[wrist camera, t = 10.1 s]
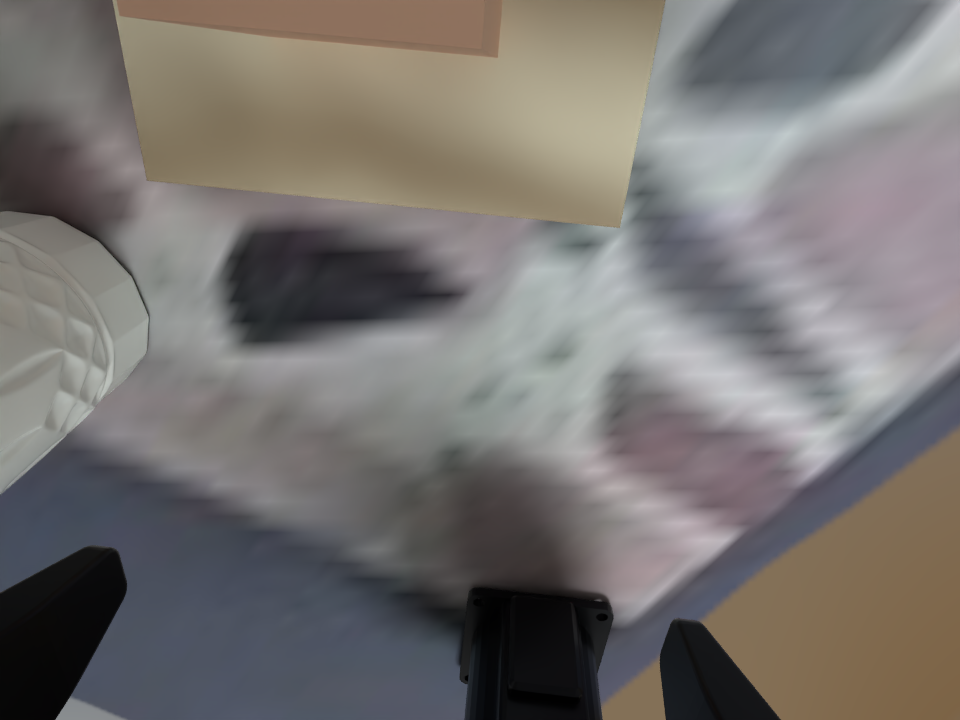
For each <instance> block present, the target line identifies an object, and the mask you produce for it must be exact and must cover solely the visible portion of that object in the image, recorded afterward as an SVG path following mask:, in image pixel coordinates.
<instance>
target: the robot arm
mask: <svg viewBox="0 0 960 720" xmlns="http://www.w3.org/2000/svg"><path fill="white" fill-rule="evenodd" d="M126 590H127V580H126V576H125V573H124V569H123V566H122V562H121V558H120V555H119V552H118V551H117V550H116V549H115V548H112V547H105V546H97V545H91V546H87V547H84V548H82V549H80V550H78V551H77V552H75V553H73V554H71V555H69V556H67V557H65V558H64V559H62V560H60V561H58V562H56V563H54V564H52V565H51V566H49V567H47V568H45V569H43V570H41V571H40V572H38V573H36V574H34V575H32V576H30V577H28V578H27V579H25V580H23V581H21V582H19V583H17V584H15V585H14V586H12V587H10V588H8V589H6V590H4V591H2V592H1V593H0V720H55V719H56V718H57V716H58V714H59V713H60V711H61V710H62V709H63V707H64V705H65V704H66V702H67V701H68V699H69V698H70V696H71V694H72V693H73V691H74V689H75V688H76V686H77V684H78V682H79V681H80V679H81V677H82V675H83V673H84V672H85V670H86V668H87V666H88V664H89V662H90V660H91V659H92V657H93V655H94V653H95V651H96V649H97V648H98V646H99V644H100V642H101V640H102V638H103V636H104V635H105V633H106V631H107V629H108V627H109V625H110V623H111V622H112V620H113V618H114V616H115V614H116V612H117V611H118V609H119V607H120V605H121V603H122V601H123V599H124V597H125V594H126ZM612 622H613V611H612V607H611V605H609V604H608V603H605V602H599V601H590V600H582V599H573V598H565V597H556V596H548V595H539V594H531V593H522V592H514V591H505V590H497V589H488V588H473V589H471V590H470V591H469V593H468V601H467V611H466V620H465V630H464V639H463V649H462V658H461V668H460V680H461V682H463V683H465V684H468V688H467V698H466V709H465V719H464V720H603V719H602V710H601V702H600V694H599V685H598V677H597V673H598V669H599V666H600V663H601V659H602V656H603V652H604V649H605V646H606V642H607V639H608V635H609V632H610V628H611V625H612ZM660 672H661V680H662V689H663V698H664V707H665V716H666V720H781V719H780V718H779V717H778V716H777V714H776V713H775V712H774V711H773V710H772V708H771V707H770V706H769V705H768V703H767V702H766V701H765V700H764V699H763V697H762V696H761V695H760V694H759V692H758V691H757V690H756V689H755V687H754V686H753V685H752V684H751V682H750V681H749V680H748V679H747V678H746V676H745V675H744V674H743V673H742V672H741V670H740V669H739V668H738V667H737V665H736V664H735V663H734V662H733V660H732V659H731V658H730V657H729V655H728V654H727V653H726V652H725V651H724V649H723V648H722V647H721V646H720V644H719V643H718V642H717V641H716V640H715V638H714V637H713V636H712V635H711V633H710V632H709V631H708V630H707V628H706V627H705V626H704V625H703V624H702V623H700V622H699V621H695V620H688V619H680V618H676V619H674V620H673V621H672V622H671V624H670V627H669V630H668V632H667V635H666V638H665V641H664V644H663V647H662V650H661V654H660Z"/></svg>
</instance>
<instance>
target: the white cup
mask: <svg viewBox="0 0 960 720" xmlns="http://www.w3.org/2000/svg"><path fill="white" fill-rule="evenodd" d="M148 325H149V316H148V314H147V311H146V309H145V306H144V304H143V302H142V299H141V297H140V295H139V292H138V290H137V288H136V285H135V283H134V281H133V278H132V277H131V276H130V274H129V273H128V272H127V271H126V270H125V269H124V268H123V267H122V266H121V265H120V264H119V263H118V261H117V260H116V259H115V258H114V257H113V256H112V255H111V254H110V253H109V252H108V251H107V250H106V249H105V248H104V246H103V245H102V244H101V243H100V242H99V241H97V240H96V239H94V238H92V237H90V236H88V235H87V234H85V233H83V232H81V231H79V230H77V229H76V228H74V227H72V226H70V225H68V224H66V223H65V222H63V221H61V220H59V219H57V218H55V217H53V216H45V215H37V214H29V213H21V212H13V211H4V212H0V495H1V494H2V493H4V492H5V491H6V490H7V489H8V488H9V487H10V486H12V485H13V484H14V483H15V482H16V481H17V480H18V479H19V478H21V477H22V476H23V475H24V474H25V473H26V472H27V471H29V470H30V469H31V468H32V467H33V466H34V465H35V464H37V463H38V462H39V461H40V460H41V459H42V458H43V457H44V456H45V455H47V454H48V453H49V452H50V451H51V450H52V449H53V448H54V447H55V446H56V445H57V444H58V443H59V442H60V441H61V440H62V439H63V438H64V437H65V436H66V435H68V433H69V432H71V431H72V430H73V429H74V428H75V427H76V426H77V425H79V424H80V423H81V422H82V421H83V420H84V419H85V418H86V417H87V416H88V415H89V414H90V413H91V412H92V411H93V410H94V409H95V407H96V405H97V404H98V403H99V402H100V401H101V400H102V399H104V398H105V397H106V396H107V395H108V394H109V393H111V392H112V391H113V390H114V389H115V388H116V387H118V386H119V385H120V384H121V383H122V382H123V381H125V380H126V379H127V378H128V377H129V375H130V374H131V373H132V371H133V370H134V369H135V367H136V366H137V365H138V364H139V362H140V361H141V360H142V358H143V357H144V356H145V355H146V353H147V342H148Z"/></svg>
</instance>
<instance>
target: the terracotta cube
mask: <svg viewBox="0 0 960 720" xmlns="http://www.w3.org/2000/svg"><path fill="white" fill-rule="evenodd" d="M502 3H503V0H117V5H118V11H119V16H123V17H130V18H137V19H145V20H152V21H159V22H166V23H173V24H180V25H188V26H195V27H202V28H209V29H216V30H223V31H231V32H238V33H245V34H252V35H259V36H266V37H276V38H287V39H298V40H309V41H320V42H331V43H342V44H352V45H363V46H374V47H385V48H396V49H407V50H418V51H429V52H440V53H451V54H462V55H472V56H483V57H494V58H498V50H499V38H500V26H501V15H502Z"/></svg>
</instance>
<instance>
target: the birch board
mask: <svg viewBox="0 0 960 720" xmlns="http://www.w3.org/2000/svg"><path fill="white" fill-rule="evenodd" d="M113 5H114V10H115V16H116V21H117V26H118V31H119V37H120V42H121V47H122V52H123V58H124V63H125V68H126V73H127V78H128V84H129V89H130V94H131V99H132V105H133V110H134V115H135V120H136V126H137V131H138V136H139V141H140V146H141V152H142V157H143V162H144V167H145V173H146V178H147V181H157V182H167V183H177V184H187V185H197V186H207V187H217V188H227V189H237V190H247V191H257V192H267V193H277V194H287V195H297V196H307V197H317V198H327V199H337V200H347V201H357V202H367V203H377V204H387V205H397V206H407V207H417V208H427V209H437V210H446V211H456V212H466V213H476V214H486V215H496V216H506V217H516V218H526V219H536V220H546V221H556V222H566V223H576V224H586V225H596V226H606V227H616V228H620V224H621V219H622V214H623V209H624V204H625V199H626V194H627V189H628V184H629V179H630V174H631V169H632V164H633V159H634V154H635V149H636V144H637V139H638V134H639V129H640V124H641V119H642V114H643V109H644V105H645V100H646V95H647V90H648V85H649V80H650V75H651V70H652V65H653V60H654V55H655V50H656V45H657V40H658V35H659V30H660V25H661V20H662V15H663V10H664V5H665V0H503V3H502V15H501V26H500V38H499V50H498V58H494V57H483V56H472V55H462V54H451V53H440V52H429V51H418V50H407V49H396V48H385V47H374V46H363V45H352V44H342V43H331V42H320V41H309V40H298V39H287V38H276V37H266V36H259V35H252V34H245V33H238V32H231V31H223V30H216V29H209V28H202V27H195V26H188V25H180V24H173V23H166V22H159V21H152V20H145V19H137V18H130V17H123V16H119V11H118V5H117V0H113Z"/></svg>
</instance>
